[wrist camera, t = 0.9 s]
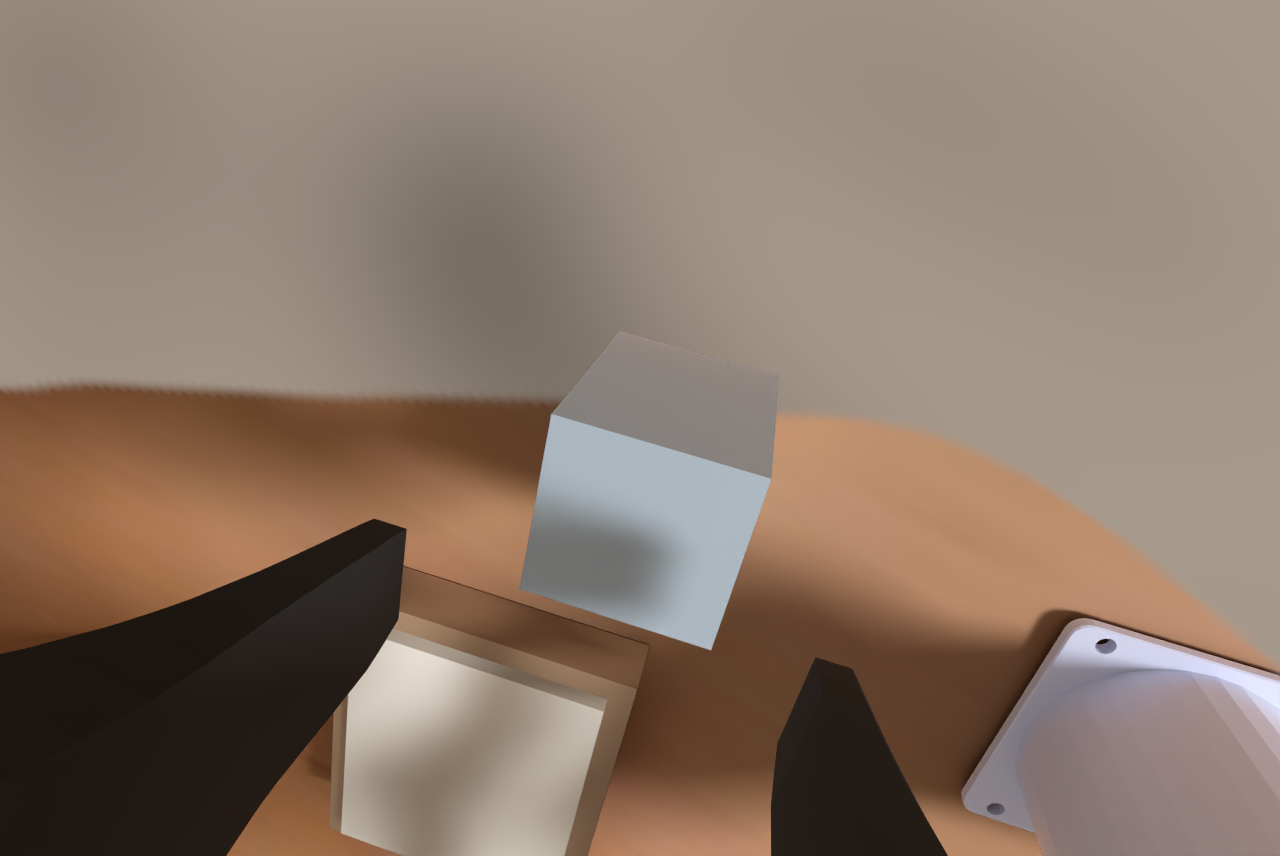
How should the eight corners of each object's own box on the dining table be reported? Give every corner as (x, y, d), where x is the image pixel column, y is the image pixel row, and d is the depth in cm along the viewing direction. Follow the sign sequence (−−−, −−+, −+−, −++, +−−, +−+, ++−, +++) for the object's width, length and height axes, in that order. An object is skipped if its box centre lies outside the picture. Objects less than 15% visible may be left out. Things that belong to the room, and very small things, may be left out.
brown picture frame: (649, 645, 24) (634, 701, 21) (584, 864, 29) (565, 928, 27) (372, 556, 24) (329, 600, 22) (357, 784, 30) (321, 839, 27)
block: (779, 375, 19) (771, 478, 14) (733, 513, 21) (711, 650, 16) (619, 330, 19) (551, 413, 14) (589, 469, 21) (519, 589, 16)
